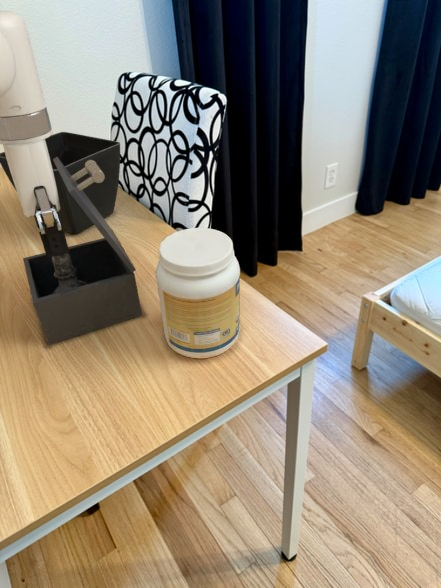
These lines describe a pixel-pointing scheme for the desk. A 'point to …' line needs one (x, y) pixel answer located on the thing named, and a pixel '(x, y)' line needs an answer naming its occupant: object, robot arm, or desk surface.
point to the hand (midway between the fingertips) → (52, 239)
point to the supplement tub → (199, 292)
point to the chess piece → (65, 273)
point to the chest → (83, 292)
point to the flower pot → (73, 157)
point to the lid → (87, 205)
